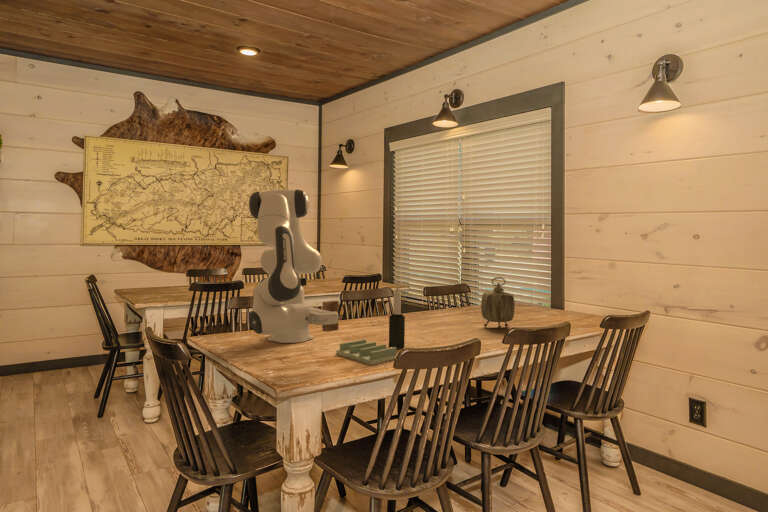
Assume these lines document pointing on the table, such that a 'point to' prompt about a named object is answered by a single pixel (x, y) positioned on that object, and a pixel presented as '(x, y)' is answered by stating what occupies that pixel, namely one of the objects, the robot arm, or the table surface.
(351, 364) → the table surface
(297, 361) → the table surface
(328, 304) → the block
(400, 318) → the candle
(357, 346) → the rack
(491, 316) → the tabletop clock
